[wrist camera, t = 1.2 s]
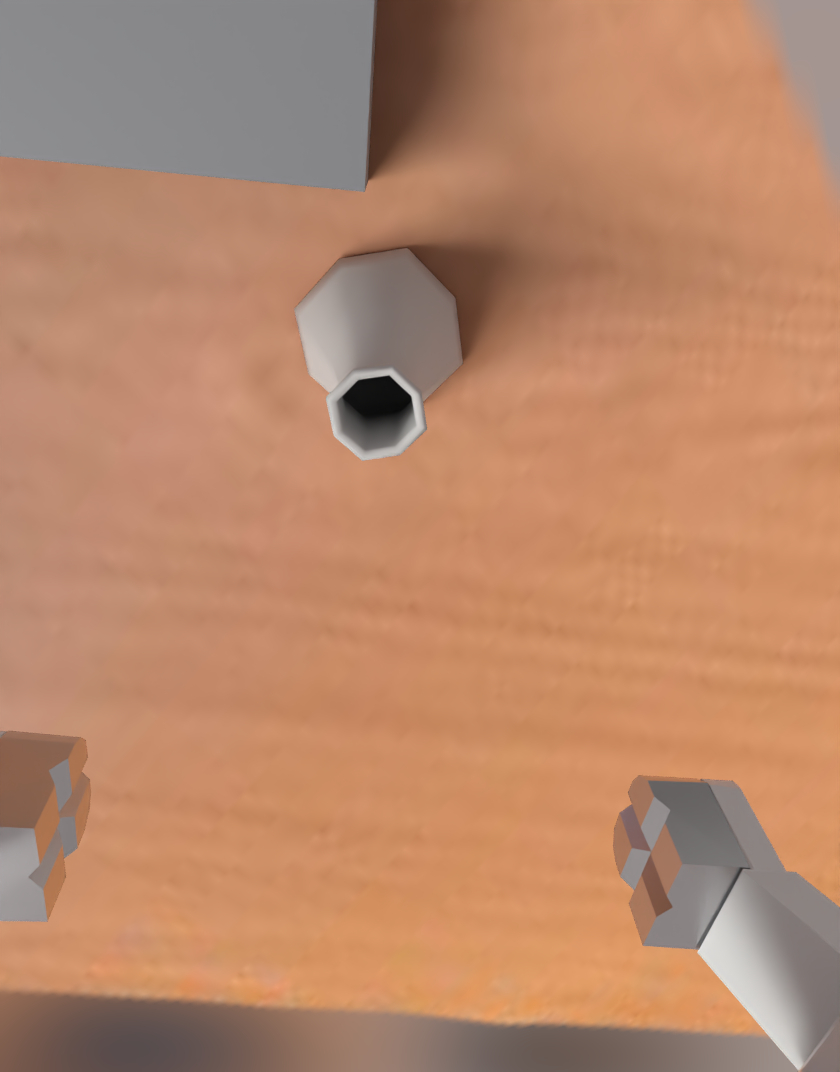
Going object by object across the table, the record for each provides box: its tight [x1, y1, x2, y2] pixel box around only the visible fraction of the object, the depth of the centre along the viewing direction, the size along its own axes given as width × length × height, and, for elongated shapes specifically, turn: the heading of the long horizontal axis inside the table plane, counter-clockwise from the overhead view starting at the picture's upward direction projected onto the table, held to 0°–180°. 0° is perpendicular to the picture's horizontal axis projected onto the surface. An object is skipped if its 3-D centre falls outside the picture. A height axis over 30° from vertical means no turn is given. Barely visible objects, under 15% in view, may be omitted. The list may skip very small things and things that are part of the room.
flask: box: [294, 248, 463, 461], centre depth 28 cm, size 7×7×10 cm
